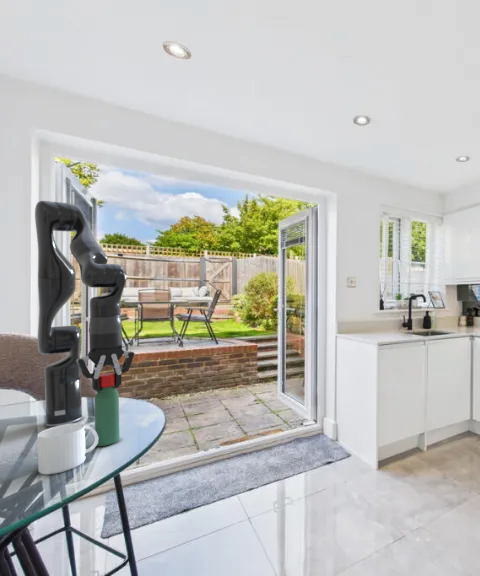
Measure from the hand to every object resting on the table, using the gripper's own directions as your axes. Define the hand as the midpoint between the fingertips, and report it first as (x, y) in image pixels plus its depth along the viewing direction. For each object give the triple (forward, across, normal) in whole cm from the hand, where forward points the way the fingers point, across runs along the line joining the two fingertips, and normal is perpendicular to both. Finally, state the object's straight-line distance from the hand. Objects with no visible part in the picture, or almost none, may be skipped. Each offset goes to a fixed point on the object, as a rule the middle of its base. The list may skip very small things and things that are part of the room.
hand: (107, 388), depth 103 cm
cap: (-1, 0, 0) cm, 1 cm away
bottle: (+16, 0, +1) cm, 16 cm away
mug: (+16, -10, -6) cm, 20 cm away
